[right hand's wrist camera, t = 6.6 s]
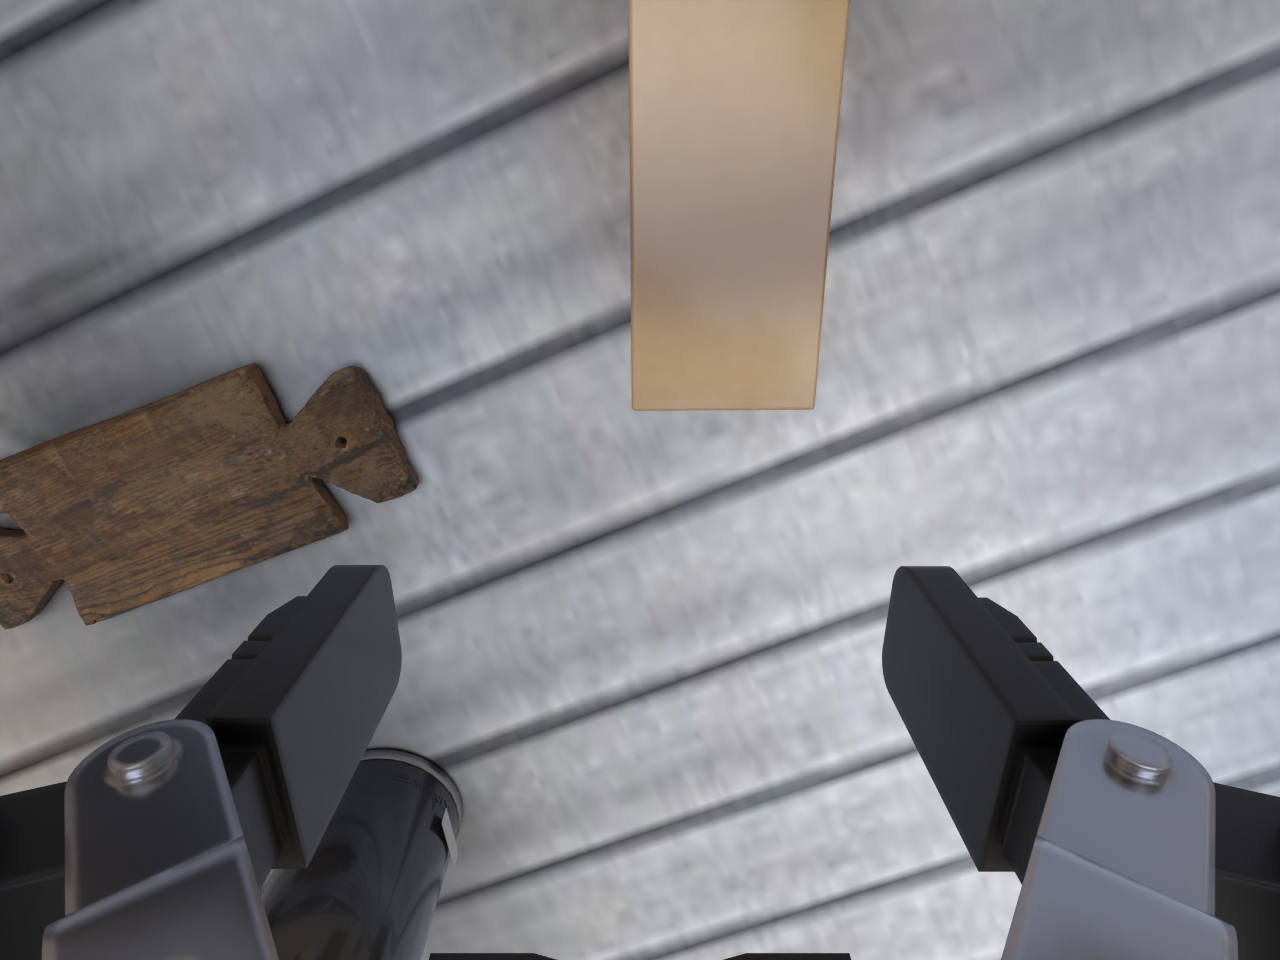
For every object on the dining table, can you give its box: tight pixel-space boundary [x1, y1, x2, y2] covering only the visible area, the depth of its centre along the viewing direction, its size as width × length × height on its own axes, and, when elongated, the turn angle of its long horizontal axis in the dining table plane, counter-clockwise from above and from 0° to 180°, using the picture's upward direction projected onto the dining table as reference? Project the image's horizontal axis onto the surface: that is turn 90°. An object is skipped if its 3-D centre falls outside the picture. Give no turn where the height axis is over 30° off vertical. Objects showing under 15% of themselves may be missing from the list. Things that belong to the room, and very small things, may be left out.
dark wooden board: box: [0, 363, 419, 629], centre depth 38 cm, size 26×2×10 cm
